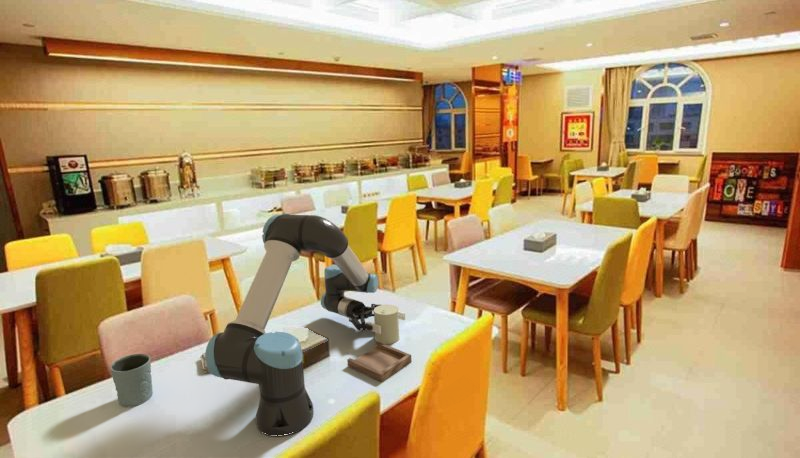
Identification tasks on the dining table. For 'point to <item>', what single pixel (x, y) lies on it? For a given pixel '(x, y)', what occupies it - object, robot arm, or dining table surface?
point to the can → (387, 323)
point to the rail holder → (380, 362)
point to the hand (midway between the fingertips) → (392, 323)
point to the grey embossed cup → (132, 379)
